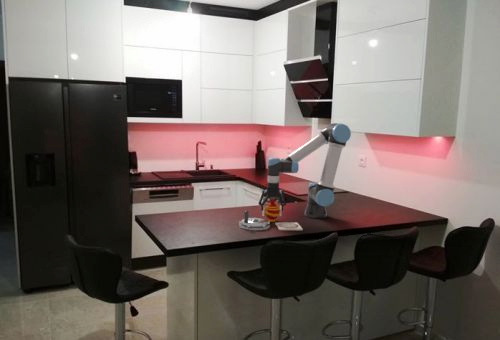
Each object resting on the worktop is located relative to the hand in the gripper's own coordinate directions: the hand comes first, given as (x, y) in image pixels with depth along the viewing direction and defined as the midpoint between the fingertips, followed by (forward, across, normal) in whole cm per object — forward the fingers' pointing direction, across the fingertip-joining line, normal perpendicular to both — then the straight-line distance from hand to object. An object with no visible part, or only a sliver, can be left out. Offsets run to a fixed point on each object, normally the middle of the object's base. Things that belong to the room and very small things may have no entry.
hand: (271, 215), depth 267 cm
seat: (+3, -8, +15) cm, 17 cm away
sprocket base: (+3, +13, +14) cm, 19 cm away
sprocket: (+2, +13, +14) cm, 19 cm away
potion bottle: (+4, 0, 0) cm, 4 cm away
